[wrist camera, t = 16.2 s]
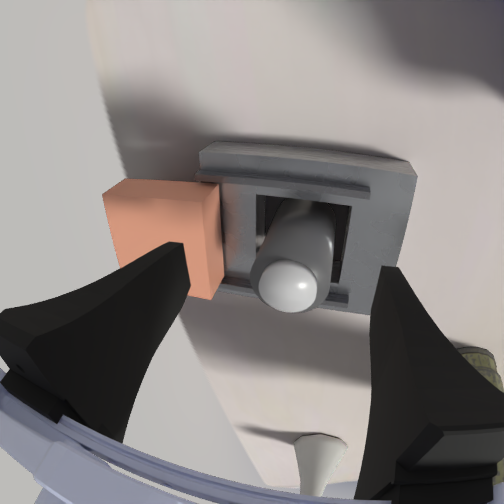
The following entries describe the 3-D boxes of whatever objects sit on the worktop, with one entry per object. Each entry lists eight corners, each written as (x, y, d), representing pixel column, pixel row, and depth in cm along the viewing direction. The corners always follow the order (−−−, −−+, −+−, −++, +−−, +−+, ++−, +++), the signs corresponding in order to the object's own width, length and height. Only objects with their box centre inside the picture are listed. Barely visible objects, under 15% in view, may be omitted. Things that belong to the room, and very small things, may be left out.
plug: (347, 215, 20) (346, 285, 14) (314, 257, 22) (300, 331, 17) (294, 182, 20) (270, 240, 14) (265, 228, 22) (233, 295, 17)
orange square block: (218, 184, 18) (201, 202, 16) (224, 275, 22) (211, 300, 20) (125, 178, 20) (102, 194, 18) (141, 261, 23) (124, 281, 21)
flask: (322, 428, 36) (307, 499, 28) (357, 445, 37) (348, 510, 29) (285, 439, 40) (268, 502, 32) (320, 455, 41) (308, 514, 33)
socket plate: (409, 162, 17) (420, 181, 14) (378, 293, 23) (380, 324, 20) (214, 141, 20) (192, 156, 17) (222, 269, 25) (206, 296, 23)
